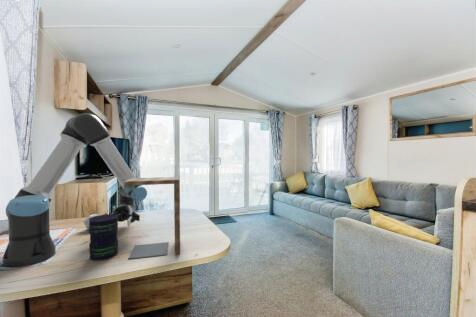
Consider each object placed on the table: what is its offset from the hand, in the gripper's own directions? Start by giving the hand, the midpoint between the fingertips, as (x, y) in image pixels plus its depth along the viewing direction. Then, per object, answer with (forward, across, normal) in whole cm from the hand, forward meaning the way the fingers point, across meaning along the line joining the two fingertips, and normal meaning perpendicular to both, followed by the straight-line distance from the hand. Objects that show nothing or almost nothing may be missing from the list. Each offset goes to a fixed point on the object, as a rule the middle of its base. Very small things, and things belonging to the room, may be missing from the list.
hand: (111, 224), depth 97 cm
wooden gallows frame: (+8, -18, -10) cm, 22 cm away
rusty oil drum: (+8, +1, -10) cm, 13 cm away
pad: (+8, -16, -10) cm, 21 cm away
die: (-30, +16, -10) cm, 36 cm away
